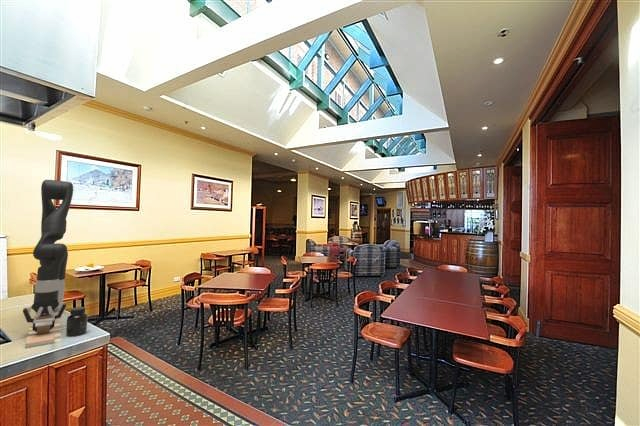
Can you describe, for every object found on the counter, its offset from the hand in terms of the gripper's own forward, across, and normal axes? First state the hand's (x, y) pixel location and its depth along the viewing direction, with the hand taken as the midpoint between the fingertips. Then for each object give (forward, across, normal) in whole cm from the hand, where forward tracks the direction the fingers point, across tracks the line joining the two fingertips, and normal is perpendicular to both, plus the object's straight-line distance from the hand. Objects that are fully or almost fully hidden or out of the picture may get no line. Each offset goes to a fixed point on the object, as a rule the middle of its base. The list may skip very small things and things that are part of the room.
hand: (43, 329), depth 120 cm
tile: (+1, 0, +7) cm, 7 cm away
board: (+3, 0, +1) cm, 3 cm away
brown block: (+1, 0, +4) cm, 4 cm away
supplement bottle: (+3, -10, +8) cm, 14 cm away
